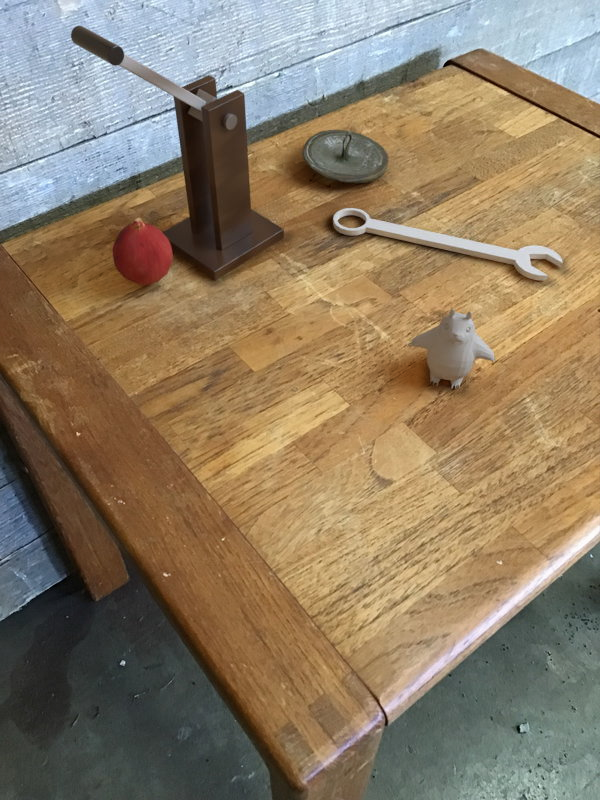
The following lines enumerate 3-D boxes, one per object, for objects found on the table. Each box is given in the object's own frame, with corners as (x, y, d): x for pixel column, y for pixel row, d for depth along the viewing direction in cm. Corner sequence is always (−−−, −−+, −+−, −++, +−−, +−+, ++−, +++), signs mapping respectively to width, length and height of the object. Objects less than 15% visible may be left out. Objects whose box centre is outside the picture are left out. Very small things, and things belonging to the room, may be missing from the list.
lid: (298, 159, 93) (289, 126, 89) (372, 130, 93) (366, 96, 89) (323, 210, 87) (314, 177, 83) (402, 180, 87) (396, 145, 83)
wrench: (557, 284, 76) (563, 256, 78) (559, 279, 75) (565, 251, 78) (326, 232, 81) (340, 207, 84) (327, 227, 80) (340, 202, 83)
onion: (112, 298, 74) (96, 234, 68) (129, 262, 78) (115, 198, 72) (168, 305, 74) (156, 240, 67) (183, 268, 77) (173, 203, 71)
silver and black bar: (103, 67, 55) (116, 36, 55) (65, 45, 58) (77, 15, 57) (231, 137, 69) (242, 113, 69) (196, 118, 71) (207, 94, 71)
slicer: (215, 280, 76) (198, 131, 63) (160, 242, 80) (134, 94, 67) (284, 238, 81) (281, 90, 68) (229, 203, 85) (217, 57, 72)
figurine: (399, 383, 67) (409, 321, 61) (409, 338, 71) (420, 276, 65) (488, 399, 66) (507, 338, 60) (493, 353, 69) (512, 291, 63)
